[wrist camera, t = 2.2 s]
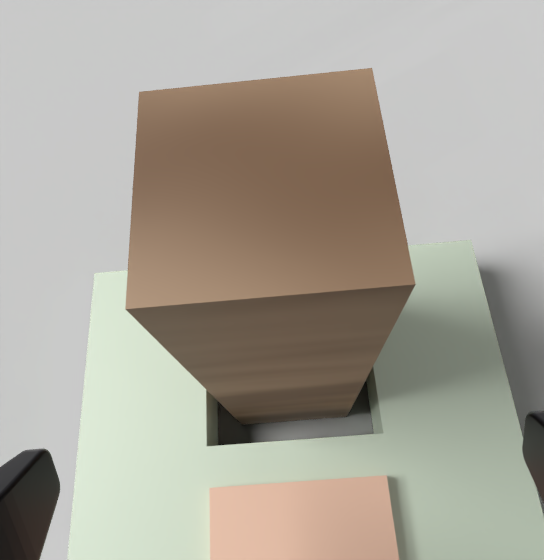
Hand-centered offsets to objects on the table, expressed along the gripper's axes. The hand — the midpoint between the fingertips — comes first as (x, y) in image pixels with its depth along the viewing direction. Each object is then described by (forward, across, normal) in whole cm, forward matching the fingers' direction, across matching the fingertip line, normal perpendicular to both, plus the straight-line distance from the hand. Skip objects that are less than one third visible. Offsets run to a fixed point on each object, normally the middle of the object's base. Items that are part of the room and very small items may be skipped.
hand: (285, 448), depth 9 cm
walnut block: (+11, 0, +5) cm, 12 cm away
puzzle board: (+8, 0, +8) cm, 11 cm away
